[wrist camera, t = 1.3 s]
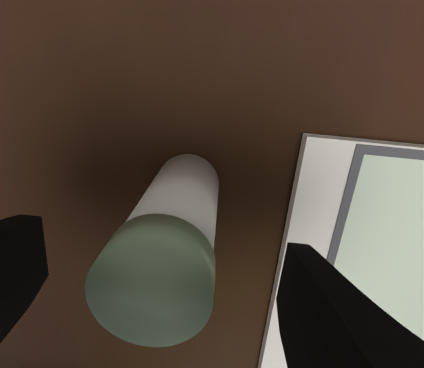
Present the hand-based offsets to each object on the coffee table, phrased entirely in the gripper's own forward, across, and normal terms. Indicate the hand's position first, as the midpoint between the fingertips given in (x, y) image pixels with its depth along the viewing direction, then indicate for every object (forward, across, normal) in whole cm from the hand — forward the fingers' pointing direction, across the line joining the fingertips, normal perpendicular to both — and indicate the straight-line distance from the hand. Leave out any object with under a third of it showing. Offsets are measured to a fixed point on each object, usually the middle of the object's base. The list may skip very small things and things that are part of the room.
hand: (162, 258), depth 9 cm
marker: (+6, 0, 0) cm, 6 cm away
